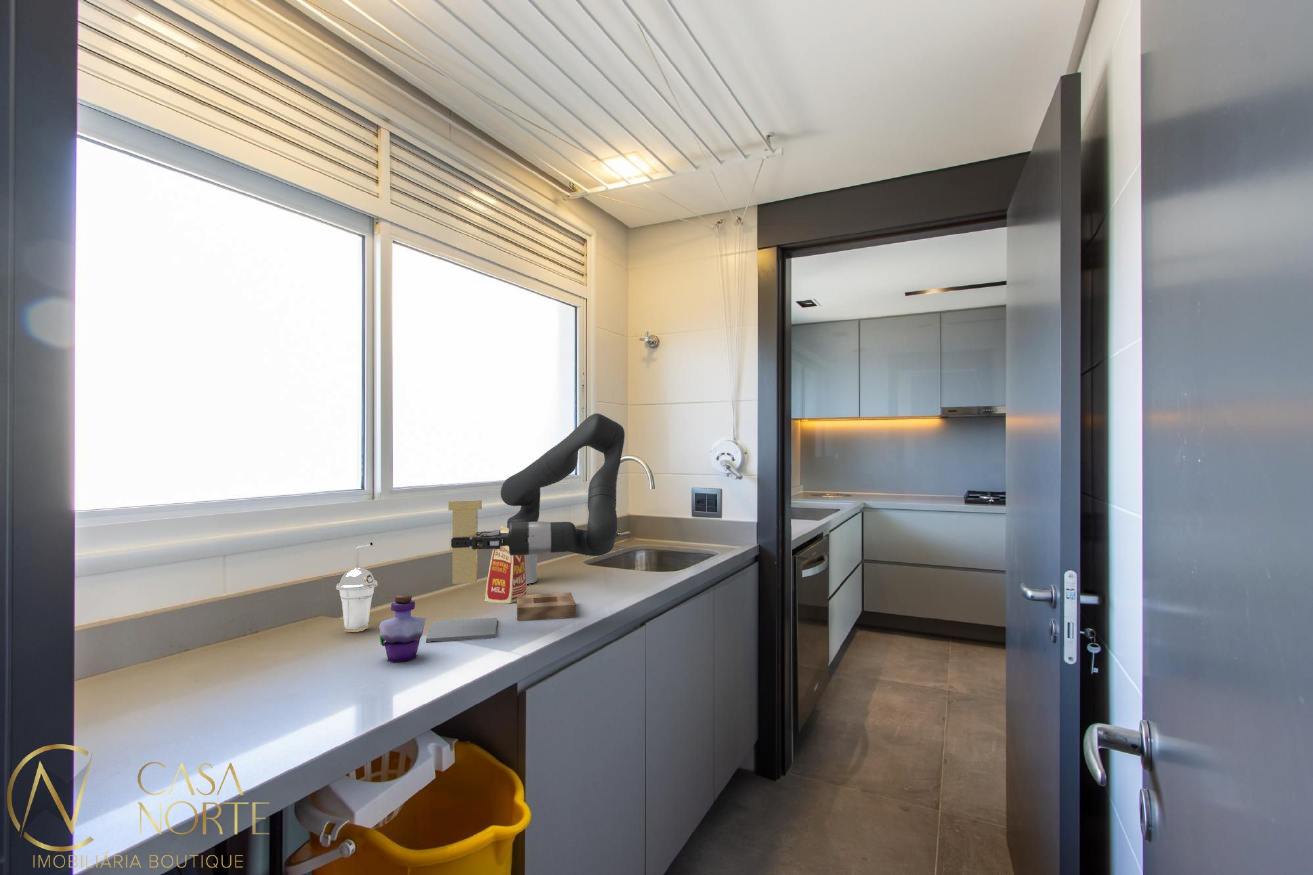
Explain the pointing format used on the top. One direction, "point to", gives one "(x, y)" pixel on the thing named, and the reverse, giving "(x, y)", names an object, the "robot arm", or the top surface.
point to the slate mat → (463, 629)
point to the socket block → (545, 606)
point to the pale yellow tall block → (464, 527)
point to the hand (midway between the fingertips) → (453, 541)
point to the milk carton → (505, 575)
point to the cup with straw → (356, 594)
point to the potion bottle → (402, 631)
